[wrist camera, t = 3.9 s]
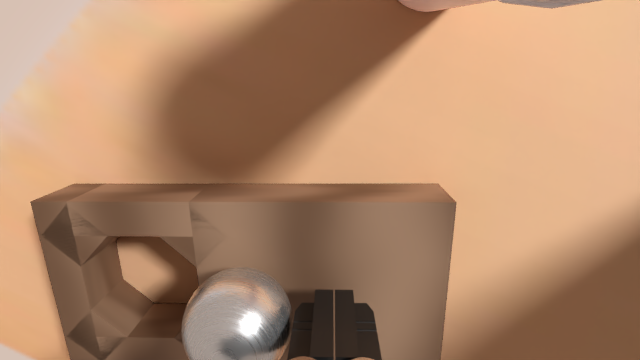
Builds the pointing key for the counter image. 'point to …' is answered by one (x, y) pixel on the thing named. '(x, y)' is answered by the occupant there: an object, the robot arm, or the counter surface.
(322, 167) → the counter surface
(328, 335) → the robot arm
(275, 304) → the ball
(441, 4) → the smoothie
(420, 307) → the brown ball holder
